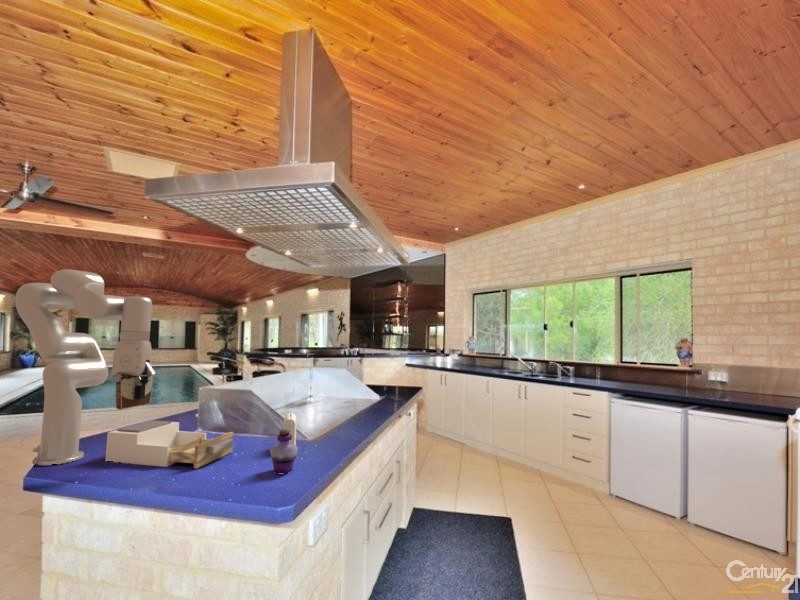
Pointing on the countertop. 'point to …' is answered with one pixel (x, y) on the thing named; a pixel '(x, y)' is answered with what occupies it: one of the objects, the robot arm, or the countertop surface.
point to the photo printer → (291, 426)
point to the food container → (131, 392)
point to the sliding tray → (202, 450)
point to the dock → (147, 443)
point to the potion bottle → (283, 453)
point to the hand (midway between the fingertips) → (130, 397)
